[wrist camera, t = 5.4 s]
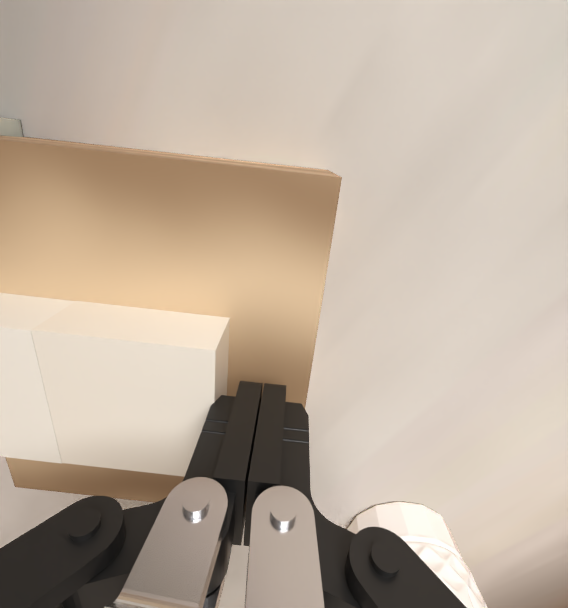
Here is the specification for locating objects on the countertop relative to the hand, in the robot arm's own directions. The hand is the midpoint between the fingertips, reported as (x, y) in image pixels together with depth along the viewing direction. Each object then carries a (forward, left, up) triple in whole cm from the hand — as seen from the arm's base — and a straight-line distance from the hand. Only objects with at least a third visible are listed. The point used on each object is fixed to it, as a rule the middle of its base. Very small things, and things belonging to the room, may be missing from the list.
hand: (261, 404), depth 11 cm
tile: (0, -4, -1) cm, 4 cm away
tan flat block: (0, -4, -6) cm, 8 cm away
